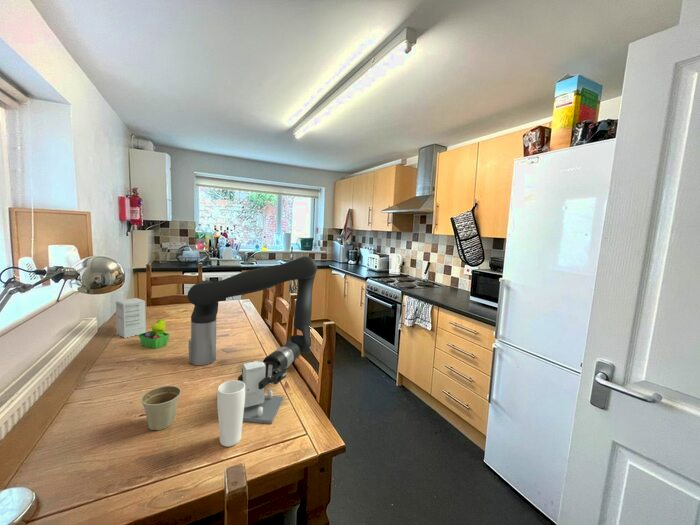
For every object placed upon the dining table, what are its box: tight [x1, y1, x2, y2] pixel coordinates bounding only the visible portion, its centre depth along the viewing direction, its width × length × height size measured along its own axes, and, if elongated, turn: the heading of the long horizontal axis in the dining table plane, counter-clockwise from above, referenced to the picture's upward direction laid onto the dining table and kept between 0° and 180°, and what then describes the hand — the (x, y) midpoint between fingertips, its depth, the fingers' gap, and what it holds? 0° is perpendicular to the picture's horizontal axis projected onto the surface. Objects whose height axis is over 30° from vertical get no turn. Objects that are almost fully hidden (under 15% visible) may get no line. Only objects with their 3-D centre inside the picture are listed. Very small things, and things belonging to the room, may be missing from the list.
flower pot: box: [140, 385, 182, 431], centre depth 79 cm, size 9×9×9 cm
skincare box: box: [242, 360, 266, 407], centre depth 88 cm, size 6×4×12 cm
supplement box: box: [115, 297, 147, 339], centre depth 140 cm, size 10×9×17 cm
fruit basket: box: [137, 318, 171, 350], centre depth 130 cm, size 11×9×11 cm
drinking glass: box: [216, 379, 245, 448], centre depth 74 cm, size 7×7×15 cm
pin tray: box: [243, 389, 284, 425], centre depth 89 cm, size 16×12×4 cm
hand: (249, 383), depth 86 cm, fingers closed on skincare box, 7 cm apart
